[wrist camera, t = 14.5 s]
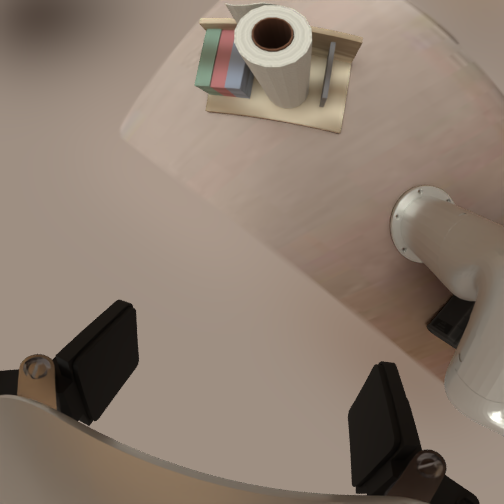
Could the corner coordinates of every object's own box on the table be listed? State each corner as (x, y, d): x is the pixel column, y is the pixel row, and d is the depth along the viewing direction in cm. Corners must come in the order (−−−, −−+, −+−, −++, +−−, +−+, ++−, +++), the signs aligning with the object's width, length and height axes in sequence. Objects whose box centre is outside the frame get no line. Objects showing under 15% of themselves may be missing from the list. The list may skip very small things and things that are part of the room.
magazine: (437, 368, 39) (575, 265, 21) (428, 360, 39) (571, 251, 21) (428, 304, 53) (533, 215, 35) (420, 295, 53) (527, 203, 34)
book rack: (221, 43, 37) (200, 18, 28) (350, 62, 35) (362, 37, 26) (208, 111, 42) (182, 101, 32) (338, 133, 40) (349, 127, 30)
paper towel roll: (312, 105, 38) (321, 60, 18) (271, 112, 39) (240, 74, 19) (302, 61, 35) (298, -12, 16) (261, 68, 37) (224, 2, 17)
